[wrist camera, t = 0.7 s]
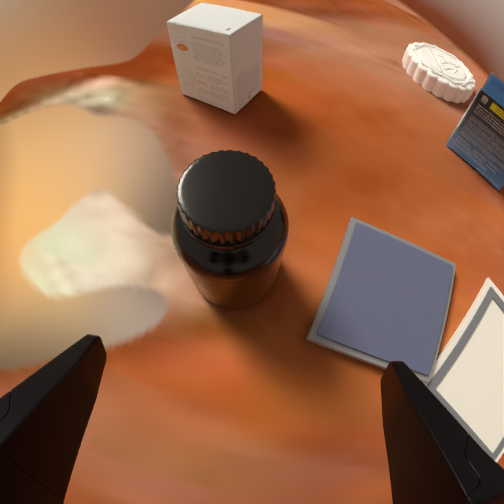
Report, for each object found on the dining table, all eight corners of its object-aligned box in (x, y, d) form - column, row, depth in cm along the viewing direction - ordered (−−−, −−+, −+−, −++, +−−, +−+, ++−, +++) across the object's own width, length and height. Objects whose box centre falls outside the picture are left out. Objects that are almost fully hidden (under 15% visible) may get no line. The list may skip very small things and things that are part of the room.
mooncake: (478, 113, 35) (488, 97, 32) (411, 91, 36) (419, 72, 33) (455, 68, 40) (462, 53, 37) (394, 48, 40) (400, 31, 37)
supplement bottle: (180, 296, 25) (129, 229, 14) (209, 222, 28) (186, 123, 17) (264, 322, 24) (274, 272, 13) (287, 244, 27) (310, 150, 16)
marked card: (487, 472, 18) (490, 473, 18) (411, 391, 22) (414, 391, 22) (548, 363, 22) (551, 362, 21) (486, 278, 26) (489, 276, 25)
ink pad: (423, 383, 22) (431, 382, 21) (305, 339, 24) (308, 337, 23) (450, 267, 26) (457, 263, 25) (348, 222, 28) (352, 215, 27)
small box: (263, 90, 34) (265, 14, 25) (235, 116, 33) (230, 34, 23) (209, 70, 36) (201, 1, 26) (180, 94, 34) (165, 20, 25)
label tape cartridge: (503, 175, 31) (555, 115, 19) (498, 192, 30) (555, 130, 18) (452, 131, 33) (494, 62, 22) (444, 145, 32) (490, 71, 21)
